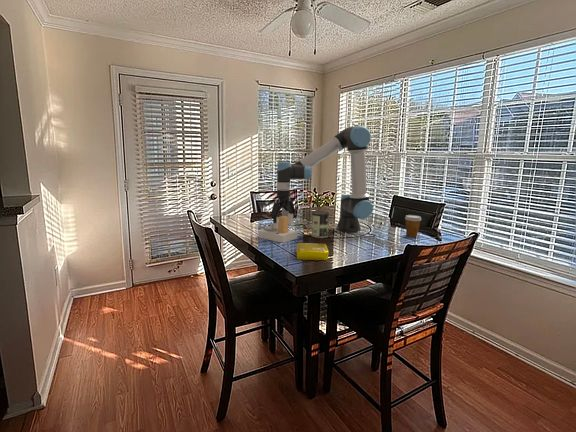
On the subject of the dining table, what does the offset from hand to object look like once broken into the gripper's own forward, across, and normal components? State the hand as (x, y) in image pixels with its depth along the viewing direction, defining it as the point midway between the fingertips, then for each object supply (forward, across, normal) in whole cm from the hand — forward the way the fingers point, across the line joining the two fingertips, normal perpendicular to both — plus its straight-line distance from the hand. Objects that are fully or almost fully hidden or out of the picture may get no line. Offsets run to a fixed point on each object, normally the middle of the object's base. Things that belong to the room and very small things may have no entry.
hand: (283, 226), depth 196 cm
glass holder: (+7, +33, +18) cm, 39 cm away
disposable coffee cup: (+7, +58, -56) cm, 81 cm away
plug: (+7, 0, 0) cm, 7 cm away
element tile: (+8, -15, -30) cm, 34 cm away
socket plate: (+7, 0, +4) cm, 8 cm away
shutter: (+3, 0, +8) cm, 9 cm away
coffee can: (+7, +20, -12) cm, 25 cm away
